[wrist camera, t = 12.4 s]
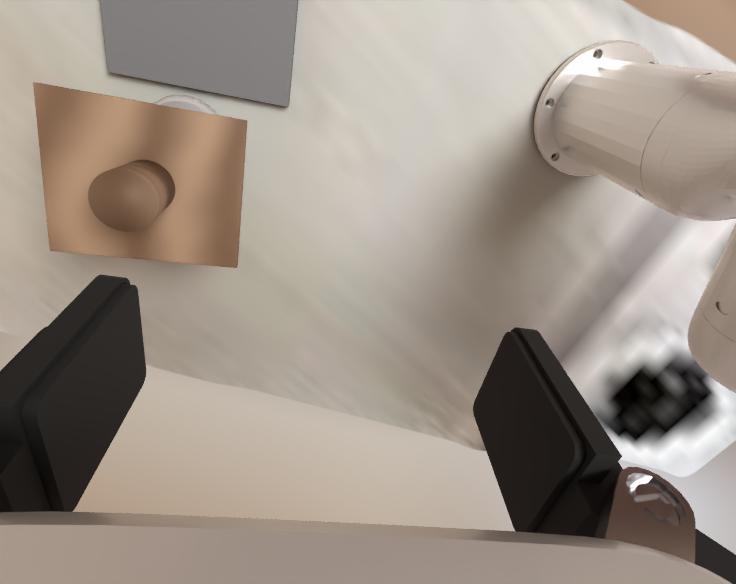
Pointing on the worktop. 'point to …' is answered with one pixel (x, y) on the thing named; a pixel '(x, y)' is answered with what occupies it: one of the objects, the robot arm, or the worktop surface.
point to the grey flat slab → (205, 44)
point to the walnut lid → (140, 178)
